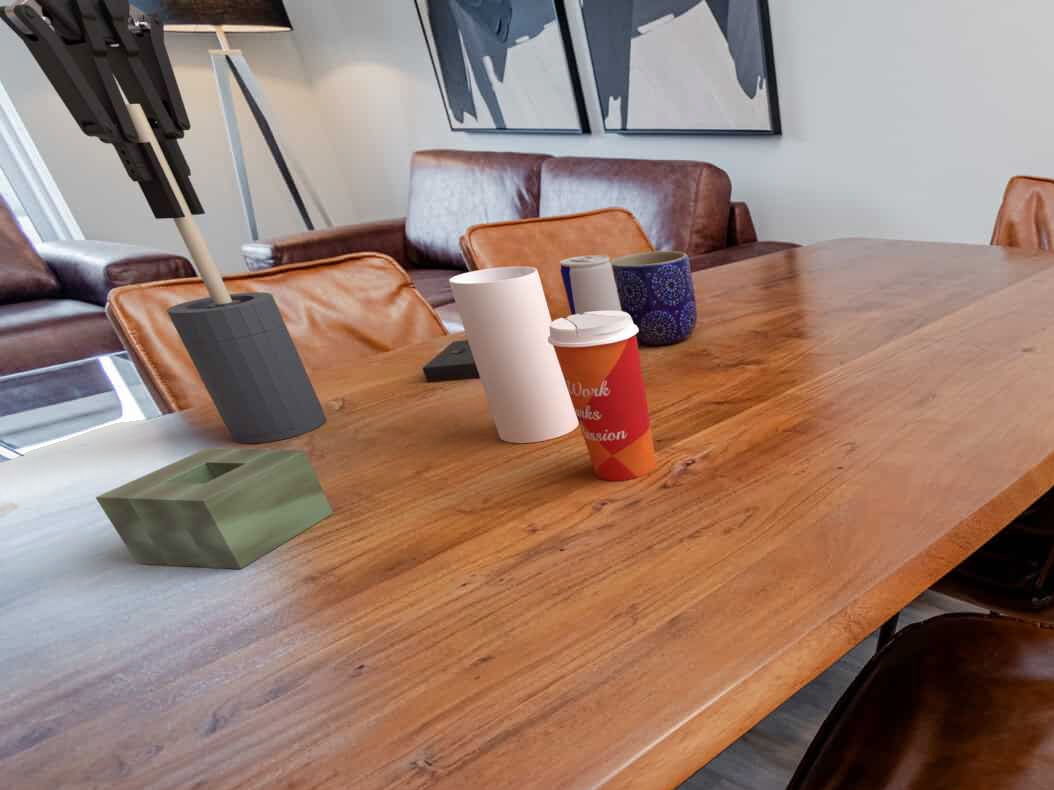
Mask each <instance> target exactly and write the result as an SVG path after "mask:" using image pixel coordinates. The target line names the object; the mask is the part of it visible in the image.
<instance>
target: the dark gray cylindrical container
mask: <svg viewBox="0 0 1054 790" xmlns="http://www.w3.org/2000/svg"><path fill="white" fill-rule="evenodd" d="M229 295H230V297H231V299H232V300H240V301H241V303H238V304H234V305H228V306H222V307H215V308H207V305H209V304H212V303H213V300H212V298H211V296H209V297H205V298H199V299H194V300H190V301H186V302H185V301H184V302H183V303H178V304H175V305H172V306H170V307H168V308H167V309H166V312H167V314H168V317H169V319H170V320H171V323H172V324H173V327H174V328H175V331H176V332H177V334H178V336H179V337H180V339H181V342H182V344H183V346H184V348H185V350H186V351H187V354H188V356H189V358H190V360H191V361H192V363H193V365H194V367H195V369H196V371H197V373H198V375H199V377H200V379H201V381H202V383H203V385H204V387H205V389H206V391H207V392H208V395H209V396H210V399H211V401H212V402H213V405H214V407H215V408H216V410H217V413H218V415H219V416H220V418H221V421H222V422H223V424H224V426H225V428H226V430H227V432H228V433H229V435H230V437H231V439H232V440H233V441H234V442H236V443H239V444H248V445H249V444H265V443H272V442H277V441H282V440H286V439H291V438H295V437H298V436H301V435H304V434H306V433H309V432H312V431H314V430H316V429H318V428H320V427H321V426H323V425H324V424H325V423H326V421H327V417H326V415H325V412H324V408H323V407H322V404H321V402H320V400H319V397H318V396H317V395H318V394H317V392H316V391H315V389H314V386H313V384H312V382H311V380H310V377H309V375H308V373H307V371H306V368H305V366H304V363H303V362H302V359H301V357H300V354H299V352H298V350H297V348H296V346H295V343H294V341H293V338H292V336H291V334H290V332H289V329H288V327H287V325H286V323H285V320H284V318H283V316H282V314H281V311H280V309H279V307H278V304H277V302H276V300H275V298H274V296H273V294H271V293H269V292H262V291H261V292H260V291H259V292H240V293H239V292H238V293H229Z"/></svg>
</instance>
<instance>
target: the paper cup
mask: <svg viewBox="0 0 1054 790" xmlns="http://www.w3.org/2000/svg"><path fill="white" fill-rule="evenodd" d="M549 328H550V336H549V337H548V343H550V344H551V345H553V347H554V350H555V353H556V356H557V359H558V362H559V365H560V368H561V371H562V374H563V377H564V380H565V383H566V386H567V389H568V392H569V395H570V398H571V401H572V404H573V407H574V410H575V413H576V416H577V419H578V422H579V424H578V426H579V428H580V432H581V434H582V437H583V440H584V443H585V446H586V448H587V451H588V454H589V457H590V460H591V463H592V466H593V469H594V471H595V473H596V475H597V477H598V478H599V479H601V480H605V481H611V482H612V481H614V482H617V481H620V482H621V481H627V480H633V479H638V478H640V477H642V476H645V475H647V474H649V473H651V472H653V470H655V468H656V467H657V466H656V465H657V463H656V455H655V447H654V440H653V439H654V438H653V433H652V427H651V420H650V414H649V408H648V403H647V402H648V401H647V394H646V387H645V383H644V376H643V370H642V365H641V358H640V351H639V346H638V345H639V344H638V342H637V338H636V333H638V331H639V329H638V327H637V326H636V325H635V324H633V321H632V318H631V316H630V315H629V314H628V313H626V312H622V311H592V312H584V313H583V314H582V315H580V314H575V315H572V314H571V315H567V316H566V318H564V317H559V318H557V319H554V320H553V321H552V322H551V323H550V326H549Z"/></svg>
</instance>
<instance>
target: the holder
mask: <svg viewBox="0 0 1054 790" xmlns="http://www.w3.org/2000/svg"><path fill="white" fill-rule="evenodd" d="M325 493H326V492H324V489H323V487H322V485H321V483H320V481H319V478H318V476H317V474H316V472H315V470H314V468H313V465H312V463H311V461H310V459H309V457H308V455H307V453H306V450H303V449H302V450H301V449H300V450H299V449H263V448H262V449H261V448H260V449H259V448H258V449H256V448H255V449H254V448H204V449H202V450H199V451H197V452H195V453H193V454H191V455H187V456H186V457H184V458H181V459H179V460H177V461H175V462H173V463H171V464H168V465H166V466H163V467H161V468H159V469H156V470H154V471H151V472H150V473H147V474H145V475H143V476H140V477H138V478H136V479H134V480H132V481H128V482H127V483H125V484H122V485H119V486H118V487H116V488H113V489H111V490H109V491H106V492H104V493H102V494H99V495H97V496H96V497H95V499H96V501H97V502H98V504H99V506H100V507H101V509H102V510H103V512H104V513H105V515H106V517H107V518H108V520H109V521H110V523H111V525H112V526H113V527H114V529H115V531H116V532H117V534H118V536H119V537H120V539H121V540H122V542H123V544H124V545H125V547H126V548H127V550H128V552H129V553H130V555H131V556H132V558H133V560H134V561H135V563H136V564H138V565H152V566H154V565H155V566H173V567H175V566H176V567H194V568H195V567H196V568H213V569H231V570H232V569H234V570H242V569H244V568H246V567H247V566H248V565H250V564H252V563H254V562H255V561H257V560H259V559H260V558H262V557H264V556H266V554H268V553H270V552H271V551H274V550H275V549H277V548H279V547H280V546H281V545H283V544H285V543H287V542H288V541H290V540H292V539H294V537H297V536H298V535H300V534H302V533H303V532H305V531H306V530H308V529H310V528H312V527H313V526H315V525H316V524H318V523H320V522H321V521H323V520H325V519H327V518H328V517H329V516H331V515H333V514H334V510H333V509H332V506H331V504H330V502H329V500H328V498H327V495H326V494H325Z"/></svg>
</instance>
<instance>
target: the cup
mask: <svg viewBox="0 0 1054 790" xmlns="http://www.w3.org/2000/svg"><path fill="white" fill-rule="evenodd" d="M448 283H449V286H450V290H451V292H452V293H451V294H452V296H453V299H454V301H455V304H456V308H457V311H458V315H459V317H460V320H461V324H462V326H463V330H464V333H465V336H466V340H468V342H469V345H470V348H471V351H472V354H473V357H474V360H475V363H476V366H477V370H478V373H479V376H480V378H479V379H480V382H481V385H482V387H483V392H484V393H485V397H486V400H487V403H488V406H489V409H490V412H491V415H492V418H493V422H494V424H495V428H496V431H497V433H498V437H499V438H500V440H502V441H504V442H506V443H512V444H533V443H541V442H544V441H550V440H554V439H556V438H560V437H563V436H565V435H567V434H569V433H571V432H573V431H574V430H575V429H576V428H578V426H579V422H578V419H577V416H576V413H575V410H574V407H573V404H572V401H571V398H570V395H569V392H568V389H567V386H566V383H565V380H564V377H563V374H562V371H561V368H560V365H559V362H558V359H557V356H556V353H555V350H554V347H553V345H551V344H550V343H548V337H549V336H550V328H549V326H550V323H551V322H553V321H552V317H551V315H550V311H549V306H548V303H547V300H546V295H545V292H544V288H543V284H542V281H541V276H540V274H539V271H538V268H536V267H532V266H501V267H493V268H485V269H478V270H473V271H468V272H464V273H461V274H457V275H454V276H452V277H450V278H449V279H448Z"/></svg>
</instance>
